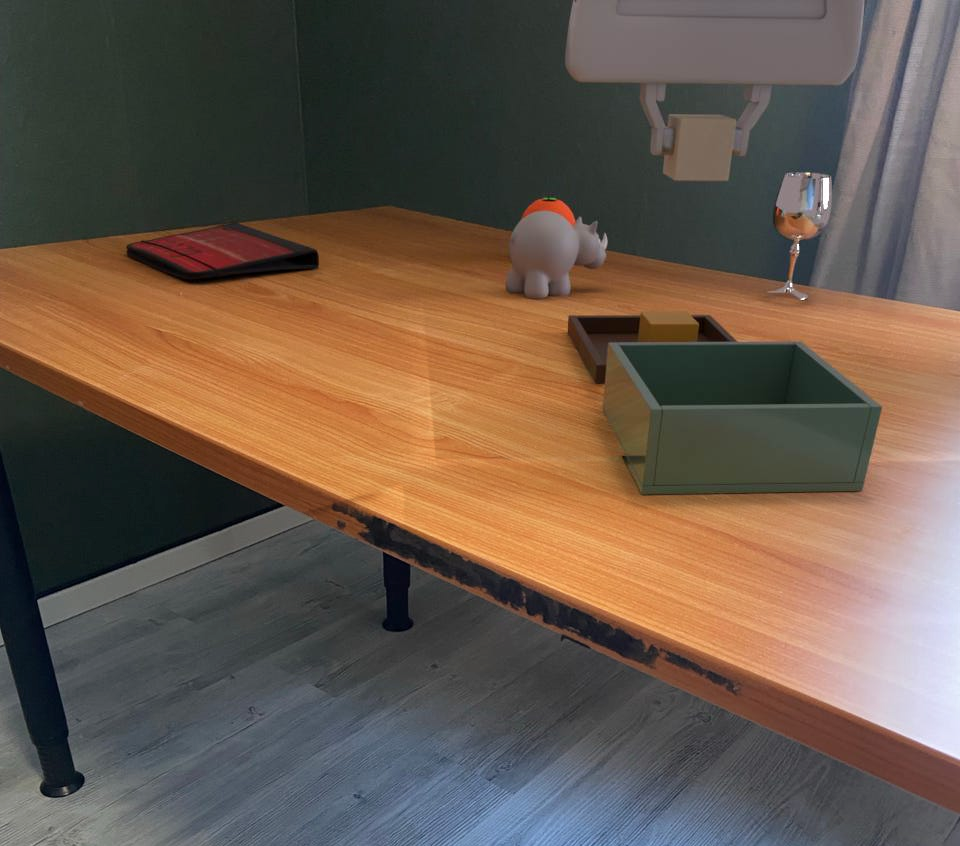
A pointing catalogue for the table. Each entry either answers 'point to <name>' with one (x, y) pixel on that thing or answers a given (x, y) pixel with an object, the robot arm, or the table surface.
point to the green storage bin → (737, 418)
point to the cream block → (700, 147)
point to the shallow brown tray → (623, 336)
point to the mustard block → (667, 327)
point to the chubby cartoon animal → (551, 254)
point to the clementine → (551, 208)
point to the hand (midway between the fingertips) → (698, 155)
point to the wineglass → (801, 214)
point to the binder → (222, 252)
